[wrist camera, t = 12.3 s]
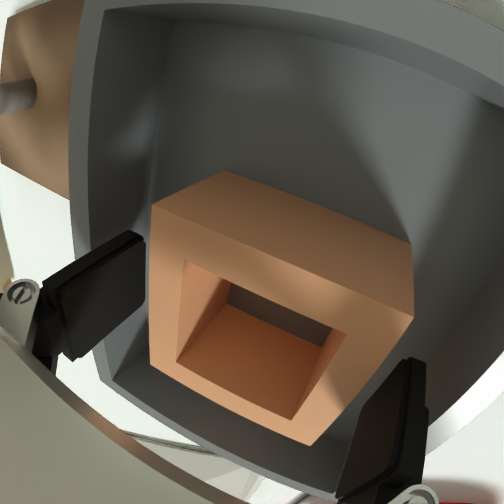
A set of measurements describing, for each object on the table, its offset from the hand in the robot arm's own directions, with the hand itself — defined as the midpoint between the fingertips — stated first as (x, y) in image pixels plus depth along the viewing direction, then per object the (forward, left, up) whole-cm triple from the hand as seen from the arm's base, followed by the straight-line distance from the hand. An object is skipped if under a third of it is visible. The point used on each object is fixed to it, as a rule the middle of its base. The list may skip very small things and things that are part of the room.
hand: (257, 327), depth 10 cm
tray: (0, 0, -4) cm, 4 cm away
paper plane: (+34, -6, -4) cm, 35 cm away
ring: (0, 0, -3) cm, 3 cm away
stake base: (-5, -18, -4) cm, 19 cm away
